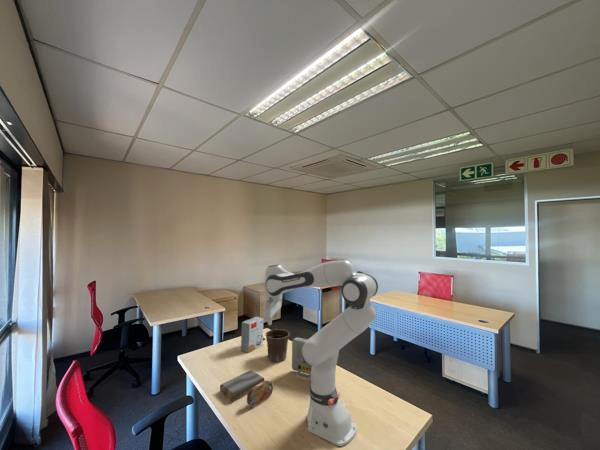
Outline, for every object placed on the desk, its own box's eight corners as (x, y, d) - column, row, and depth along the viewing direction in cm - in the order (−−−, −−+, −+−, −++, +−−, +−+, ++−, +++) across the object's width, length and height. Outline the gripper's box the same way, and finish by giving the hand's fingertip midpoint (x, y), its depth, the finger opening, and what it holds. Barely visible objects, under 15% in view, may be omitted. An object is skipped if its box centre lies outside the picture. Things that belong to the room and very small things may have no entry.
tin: (249, 411, 117) (249, 392, 117) (245, 407, 119) (245, 389, 119) (273, 395, 128) (273, 379, 128) (269, 393, 130) (269, 376, 130)
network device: (335, 378, 144) (335, 343, 144) (331, 386, 136) (331, 349, 136) (296, 367, 154) (296, 335, 155) (289, 375, 146) (290, 340, 147)
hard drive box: (248, 353, 172) (248, 324, 173) (240, 350, 176) (241, 322, 177) (263, 345, 185) (263, 318, 186) (255, 342, 189) (256, 316, 190)
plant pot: (273, 350, 178) (273, 327, 178) (293, 355, 170) (293, 331, 171) (260, 360, 163) (260, 335, 163) (281, 366, 156) (281, 340, 156)
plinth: (264, 384, 137) (264, 377, 137) (232, 402, 122) (232, 394, 122) (251, 376, 145) (251, 369, 145) (220, 391, 130) (220, 384, 130)
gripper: (272, 300, 120) (272, 329, 120) (284, 291, 140) (283, 315, 140) (260, 299, 122) (259, 328, 121) (273, 290, 142) (273, 314, 141)
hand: (272, 321), depth 131 cm, fingers open, 8 cm apart
